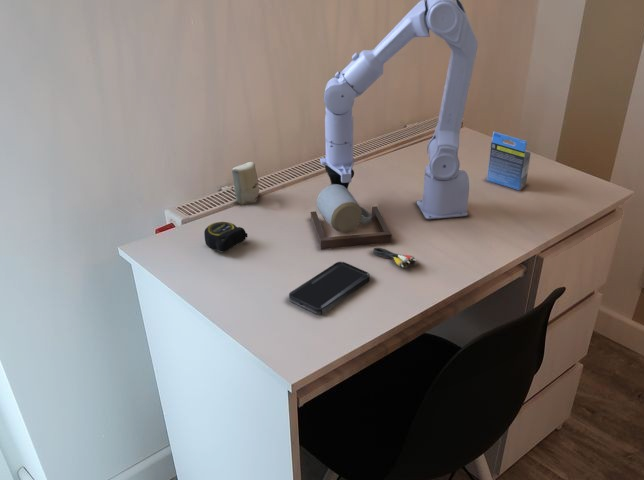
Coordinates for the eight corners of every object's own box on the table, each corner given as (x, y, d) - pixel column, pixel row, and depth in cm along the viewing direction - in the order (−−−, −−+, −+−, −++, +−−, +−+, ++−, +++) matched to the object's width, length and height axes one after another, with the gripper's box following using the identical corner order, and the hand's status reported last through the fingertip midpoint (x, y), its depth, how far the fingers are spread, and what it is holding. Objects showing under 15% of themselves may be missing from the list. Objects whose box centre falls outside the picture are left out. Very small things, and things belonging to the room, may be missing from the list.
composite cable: (370, 253, 142) (370, 242, 141) (388, 245, 145) (388, 235, 143) (403, 275, 137) (403, 264, 135) (421, 266, 139) (422, 255, 138)
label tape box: (526, 185, 170) (534, 135, 163) (519, 191, 167) (527, 141, 160) (493, 175, 174) (500, 126, 166) (485, 181, 171) (492, 131, 163)
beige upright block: (239, 192, 160) (236, 159, 155) (262, 194, 160) (260, 160, 155) (233, 204, 155) (230, 170, 150) (257, 206, 155) (254, 171, 150)
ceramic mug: (331, 237, 146) (331, 203, 142) (316, 219, 152) (315, 186, 147) (378, 228, 151) (380, 195, 146) (361, 211, 156) (362, 178, 152)
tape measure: (223, 258, 138) (221, 241, 136) (198, 247, 141) (195, 230, 139) (248, 244, 143) (247, 227, 141) (223, 233, 146) (221, 216, 143)
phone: (372, 274, 134) (319, 310, 124) (372, 279, 135) (320, 316, 125) (339, 260, 137) (285, 294, 127) (339, 265, 138) (286, 299, 128)
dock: (376, 214, 155) (377, 206, 154) (391, 242, 146) (391, 234, 145) (310, 220, 152) (310, 211, 150) (320, 249, 143) (320, 240, 141)
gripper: (313, 126, 152) (315, 185, 160) (326, 154, 141) (327, 216, 149) (346, 124, 154) (346, 182, 162) (361, 152, 143) (360, 213, 151)
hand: (339, 198), depth 156 cm, fingers closed
